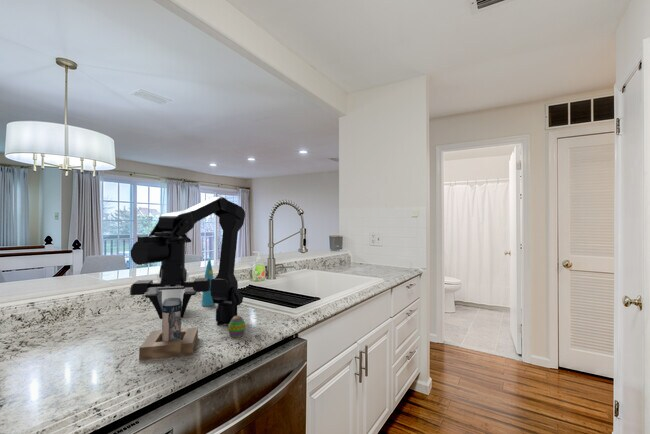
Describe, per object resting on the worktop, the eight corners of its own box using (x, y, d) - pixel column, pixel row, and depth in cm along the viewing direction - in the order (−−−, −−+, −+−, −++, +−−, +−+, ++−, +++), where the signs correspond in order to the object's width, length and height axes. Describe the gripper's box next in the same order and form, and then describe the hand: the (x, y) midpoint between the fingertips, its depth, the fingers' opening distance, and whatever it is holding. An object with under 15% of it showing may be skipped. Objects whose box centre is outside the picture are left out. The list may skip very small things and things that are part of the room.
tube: (215, 306, 123) (216, 258, 123) (202, 307, 121) (203, 258, 121) (213, 302, 130) (214, 256, 130) (201, 303, 127) (202, 256, 128)
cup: (193, 307, 120) (194, 271, 121) (166, 314, 111) (167, 275, 111) (177, 303, 126) (178, 269, 127) (149, 309, 117) (150, 272, 117)
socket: (197, 337, 90) (197, 327, 90) (192, 354, 78) (192, 342, 78) (151, 341, 86) (152, 330, 86) (139, 360, 75) (139, 347, 75)
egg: (240, 339, 89) (241, 318, 89) (225, 338, 90) (225, 317, 90) (247, 333, 94) (248, 313, 94) (233, 332, 95) (233, 312, 95)
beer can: (173, 348, 80) (174, 302, 80) (157, 347, 80) (158, 301, 81) (185, 341, 84) (185, 297, 84) (169, 340, 85) (170, 296, 85)
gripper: (212, 256, 93) (211, 307, 93) (142, 257, 88) (141, 311, 88) (209, 260, 82) (208, 319, 82) (130, 262, 77) (128, 324, 77)
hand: (172, 318), depth 82 cm, fingers closed on beer can, 5 cm apart
